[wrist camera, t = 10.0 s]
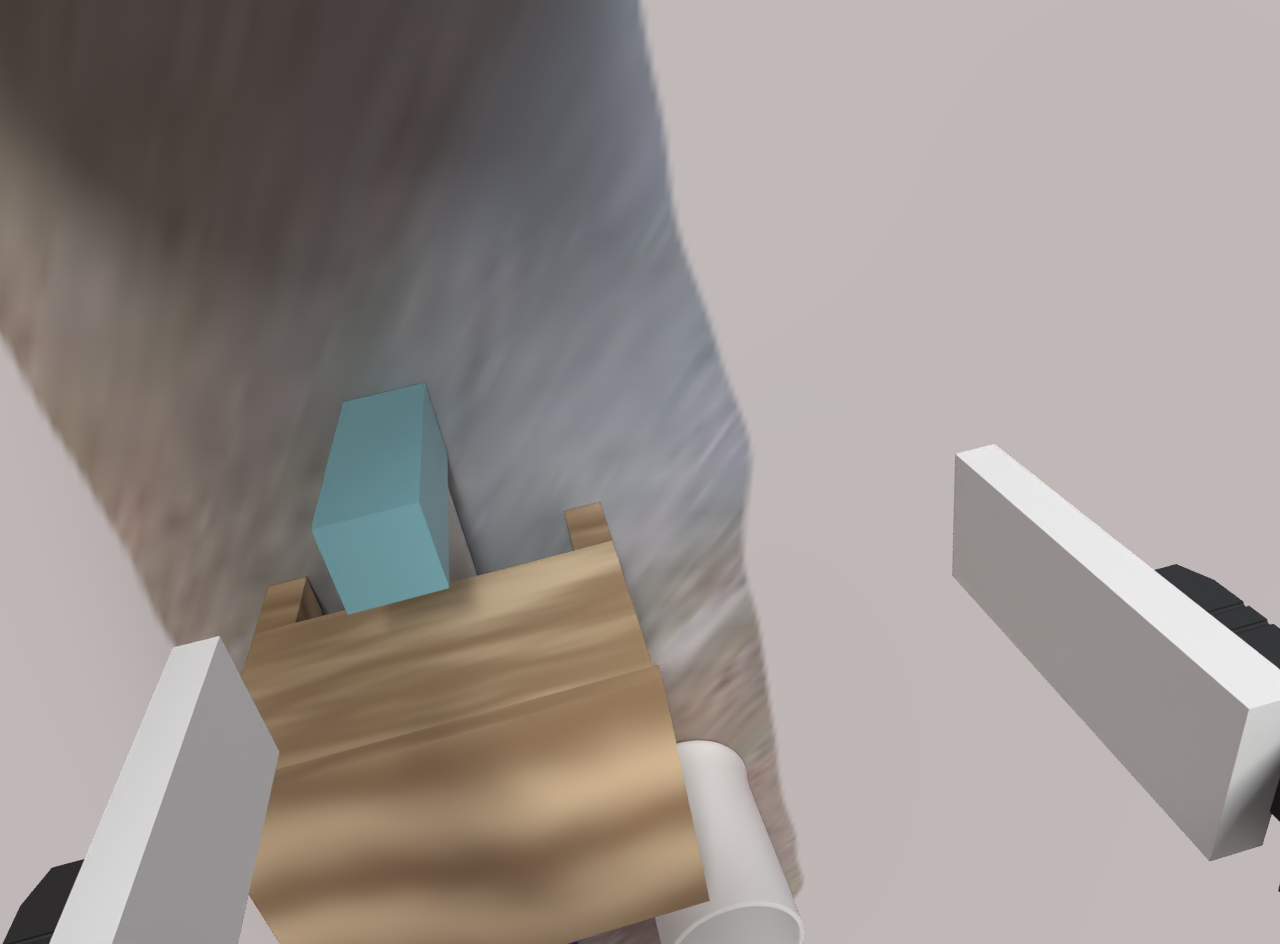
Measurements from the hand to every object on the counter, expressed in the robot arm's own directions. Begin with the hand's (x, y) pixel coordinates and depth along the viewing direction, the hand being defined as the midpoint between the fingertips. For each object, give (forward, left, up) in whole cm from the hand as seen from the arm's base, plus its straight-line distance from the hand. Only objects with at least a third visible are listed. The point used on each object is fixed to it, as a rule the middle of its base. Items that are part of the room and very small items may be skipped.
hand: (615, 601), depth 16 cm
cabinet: (+22, -8, -28) cm, 37 cm away
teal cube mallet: (+19, -8, -29) cm, 35 cm away
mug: (+40, +2, -29) cm, 49 cm away
